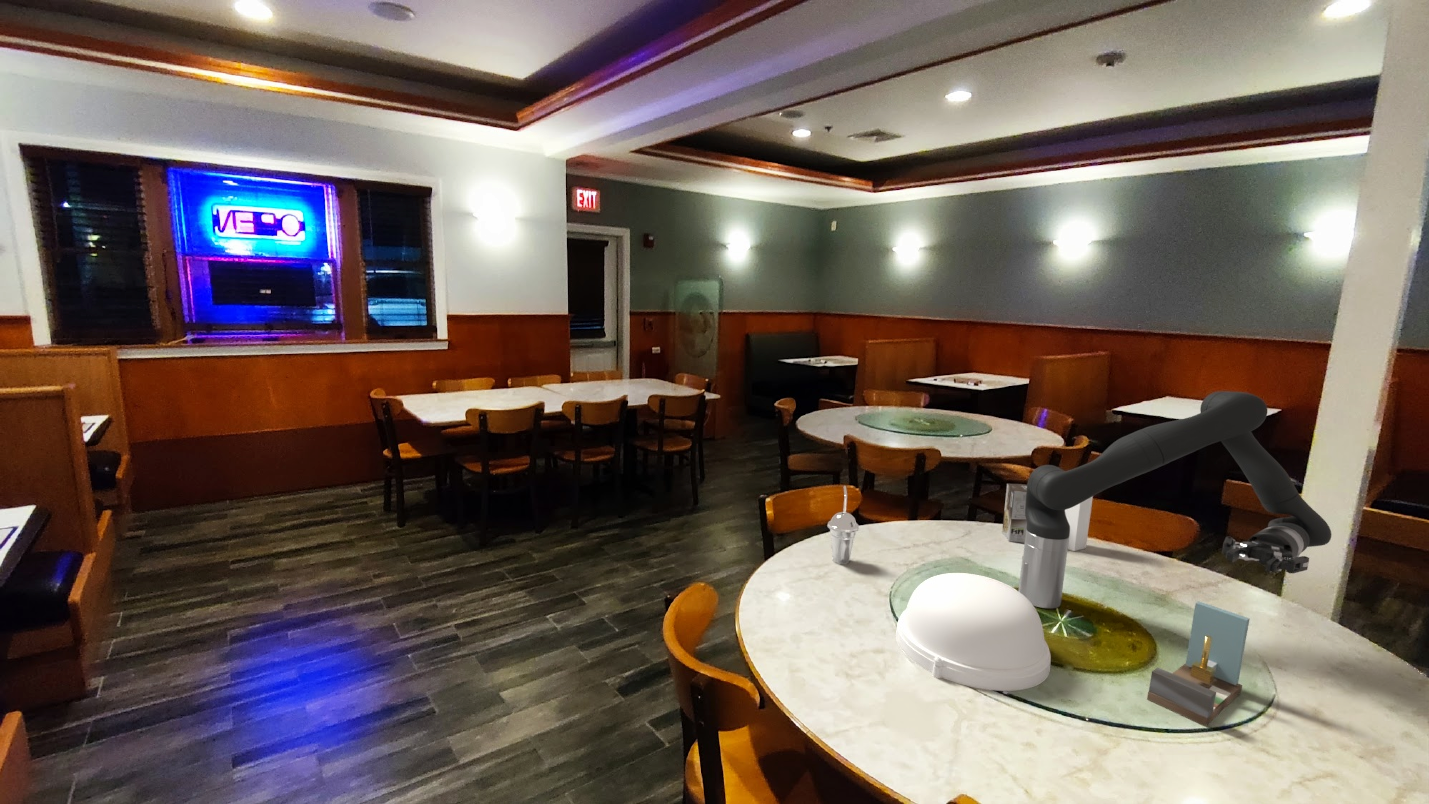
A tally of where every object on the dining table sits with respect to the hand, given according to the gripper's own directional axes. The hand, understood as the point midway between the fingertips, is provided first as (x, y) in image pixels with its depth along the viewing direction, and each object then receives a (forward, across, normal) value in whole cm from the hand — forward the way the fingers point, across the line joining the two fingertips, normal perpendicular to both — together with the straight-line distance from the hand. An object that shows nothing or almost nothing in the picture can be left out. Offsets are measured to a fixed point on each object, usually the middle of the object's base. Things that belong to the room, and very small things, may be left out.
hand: (1249, 562), depth 127 cm
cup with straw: (+30, -79, +22) cm, 88 cm away
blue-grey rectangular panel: (+13, 0, +20) cm, 24 cm away
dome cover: (+40, -33, +22) cm, 57 cm away
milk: (-38, -50, +22) cm, 67 cm away
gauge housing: (+19, 0, +22) cm, 29 cm away
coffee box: (-31, -64, +22) cm, 74 cm away
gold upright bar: (+17, 0, +19) cm, 26 cm away
